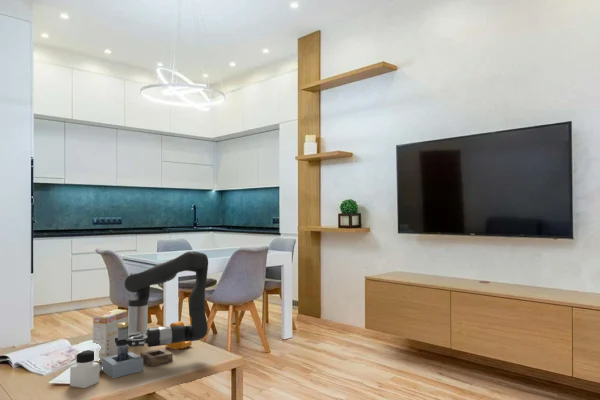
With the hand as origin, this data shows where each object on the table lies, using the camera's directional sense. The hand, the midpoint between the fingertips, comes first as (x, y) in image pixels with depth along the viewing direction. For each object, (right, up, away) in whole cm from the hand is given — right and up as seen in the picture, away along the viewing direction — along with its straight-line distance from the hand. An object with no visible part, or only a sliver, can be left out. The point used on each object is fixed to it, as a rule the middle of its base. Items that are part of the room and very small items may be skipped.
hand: (115, 341), depth 179 cm
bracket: (+16, -14, +34) cm, 40 cm away
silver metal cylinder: (+2, -9, +1) cm, 9 cm away
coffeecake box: (-10, -13, +18) cm, 24 cm away
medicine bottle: (-6, -12, -14) cm, 19 cm away
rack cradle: (+2, -12, +1) cm, 12 cm away
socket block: (+12, -12, +14) cm, 22 cm away
